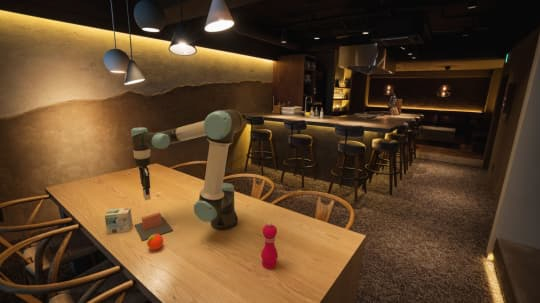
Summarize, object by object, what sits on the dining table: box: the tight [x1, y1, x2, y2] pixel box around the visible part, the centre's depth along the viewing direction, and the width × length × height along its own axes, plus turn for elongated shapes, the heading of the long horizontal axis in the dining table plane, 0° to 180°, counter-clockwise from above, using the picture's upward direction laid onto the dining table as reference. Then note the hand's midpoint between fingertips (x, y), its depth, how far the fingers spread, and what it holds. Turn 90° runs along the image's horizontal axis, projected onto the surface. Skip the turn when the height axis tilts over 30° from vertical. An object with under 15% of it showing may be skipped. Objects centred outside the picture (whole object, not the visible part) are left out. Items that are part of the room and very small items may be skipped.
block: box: [141, 212, 162, 230], centre depth 132 cm, size 2×9×6 cm, turn 128°
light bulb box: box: [104, 207, 134, 235], centre depth 130 cm, size 11×7×11 cm, turn 105°
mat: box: [133, 216, 174, 242], centre depth 133 cm, size 18×15×1 cm
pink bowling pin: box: [260, 221, 279, 270], centre depth 104 cm, size 7×7×20 cm
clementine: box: [145, 234, 164, 251], centre depth 115 cm, size 8×7×7 cm
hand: (147, 198), depth 135 cm, fingers open, 2 cm apart
